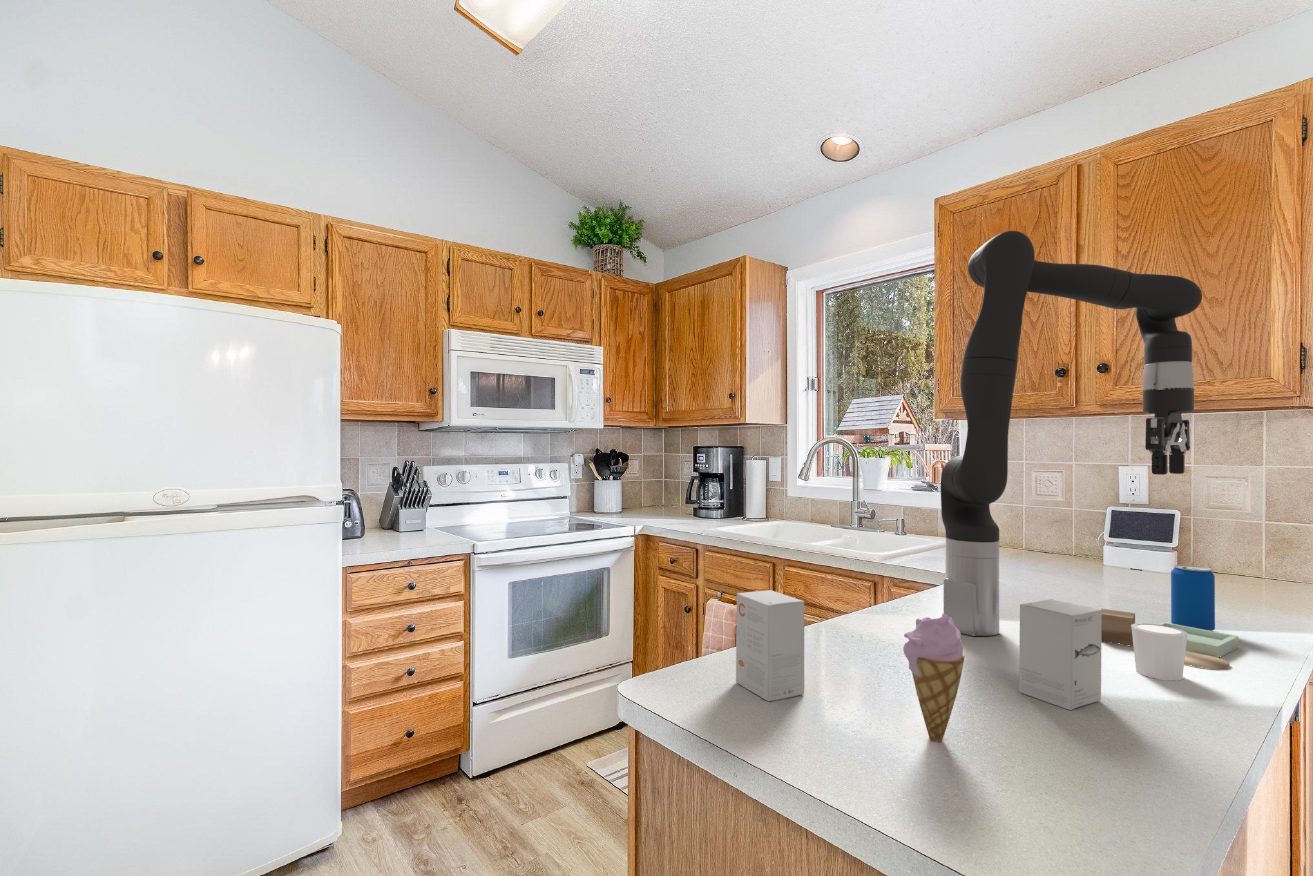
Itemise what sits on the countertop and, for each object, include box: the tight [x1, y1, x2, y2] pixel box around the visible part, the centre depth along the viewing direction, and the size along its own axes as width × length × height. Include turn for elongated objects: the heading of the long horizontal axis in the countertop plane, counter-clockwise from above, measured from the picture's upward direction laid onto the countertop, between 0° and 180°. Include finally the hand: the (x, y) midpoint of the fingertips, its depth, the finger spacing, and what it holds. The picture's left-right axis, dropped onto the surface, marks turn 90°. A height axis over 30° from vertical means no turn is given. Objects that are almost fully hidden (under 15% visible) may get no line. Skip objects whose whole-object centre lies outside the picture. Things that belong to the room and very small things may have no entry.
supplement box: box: [1018, 599, 1102, 711], centre depth 88 cm, size 7×7×13 cm
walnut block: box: [1100, 608, 1136, 647], centre depth 115 cm, size 5×5×5 cm
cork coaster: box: [1184, 651, 1230, 670], centre depth 104 cm, size 8×8×1 cm
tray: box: [1155, 621, 1240, 658], centre depth 113 cm, size 11×11×2 cm
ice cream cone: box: [903, 612, 965, 743], centre depth 75 cm, size 7×6×15 cm
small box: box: [735, 589, 805, 702], centre depth 90 cm, size 8×6×13 cm
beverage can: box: [1170, 564, 1216, 631], centre depth 123 cm, size 6×6×12 cm
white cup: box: [1131, 622, 1187, 681], centre depth 98 cm, size 7×7×7 cm
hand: (1168, 474), depth 119 cm, fingers open, 8 cm apart
